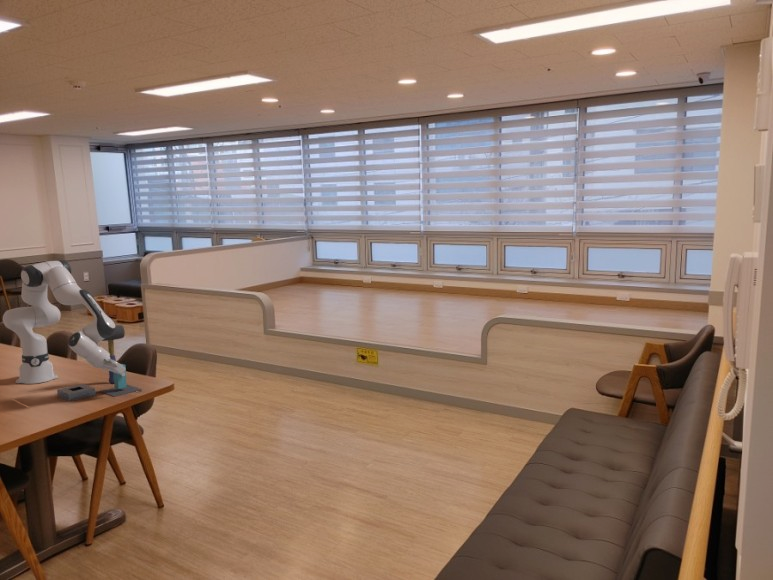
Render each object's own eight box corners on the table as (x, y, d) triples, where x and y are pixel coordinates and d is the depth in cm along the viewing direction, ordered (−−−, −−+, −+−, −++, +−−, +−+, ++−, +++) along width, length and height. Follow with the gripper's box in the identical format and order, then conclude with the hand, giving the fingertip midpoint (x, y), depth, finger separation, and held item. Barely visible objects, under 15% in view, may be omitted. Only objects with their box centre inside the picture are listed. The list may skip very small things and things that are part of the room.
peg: (114, 387, 279) (113, 365, 278) (122, 385, 283) (121, 363, 281) (118, 388, 277) (117, 366, 276) (126, 387, 280) (125, 365, 279)
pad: (99, 392, 279) (99, 390, 279) (127, 386, 290) (127, 384, 290) (113, 397, 270) (113, 396, 270) (142, 391, 281) (142, 389, 281)
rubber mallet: (123, 379, 301) (120, 323, 298) (128, 382, 296) (125, 325, 292) (98, 384, 293) (94, 326, 290) (102, 387, 288) (98, 328, 284)
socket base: (57, 397, 271) (57, 389, 270) (83, 391, 280) (83, 383, 279) (69, 402, 263) (68, 394, 263) (95, 396, 273) (95, 388, 272)
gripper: (115, 355, 266) (136, 372, 275) (94, 349, 278) (115, 365, 287) (106, 367, 263) (127, 383, 272) (85, 360, 275) (106, 376, 284)
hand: (121, 374), depth 280 cm, fingers open, 4 cm apart
